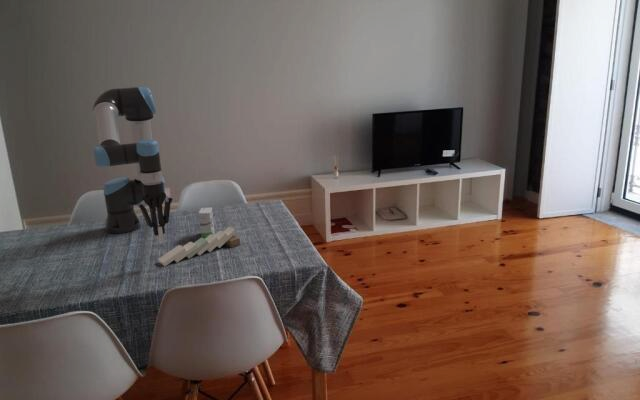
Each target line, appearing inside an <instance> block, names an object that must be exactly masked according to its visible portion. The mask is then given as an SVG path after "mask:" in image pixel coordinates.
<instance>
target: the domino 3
mask: <svg viewBox="0 0 640 400" xmlns="http://www.w3.org/2000/svg"><path fill="white" fill-rule="evenodd" d="M193 243H194V244H196V245H197V247H198V248H197V249H195V250H194V251H193V252H191V253H190V254H188V255H187V256H186V257H185V258H187V259H188V260H189V259H191V258H192V257H194V256H195V255H197V254H196V253H197V252H199V251H200V250H201V249H202V248H204V247H205V246H206V245H208V244H209V243H208V241H207V240H205V239H204V238H202V237H200V238H199V239H197V240H196V241H195V242H193Z"/></svg>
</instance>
